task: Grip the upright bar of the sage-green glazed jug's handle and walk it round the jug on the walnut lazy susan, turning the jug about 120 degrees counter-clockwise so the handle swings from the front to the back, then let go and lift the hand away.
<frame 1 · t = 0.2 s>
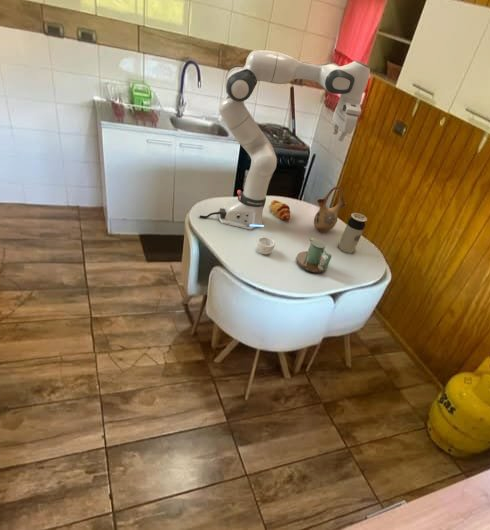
hand: (337, 137, 168), 48 cm above the table, tool pointing down, fingers open, 8 cm apart
susan base: (310, 264, 168), on the table
teacup: (263, 250, 171), on the table
travel mug: (345, 248, 186), on the table
croissant: (279, 214, 204), on the table
ceramic vessel: (321, 230, 197), on the table
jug: (316, 254, 164), point 6 cm above the table, hinge at 0.0°
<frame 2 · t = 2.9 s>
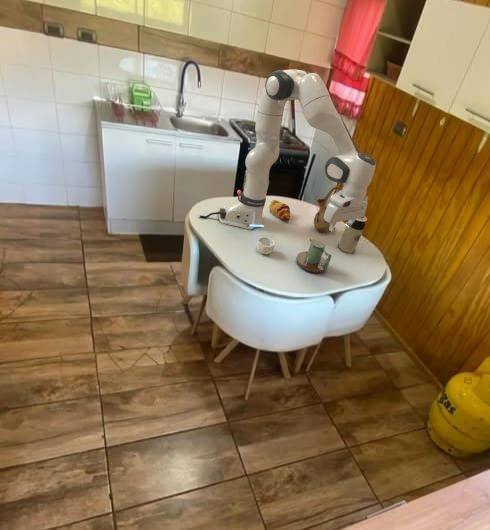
hand: (339, 228, 151), 23 cm above the table, tool pointing down, fingers open, 8 cm apart
nothing on the table moved.
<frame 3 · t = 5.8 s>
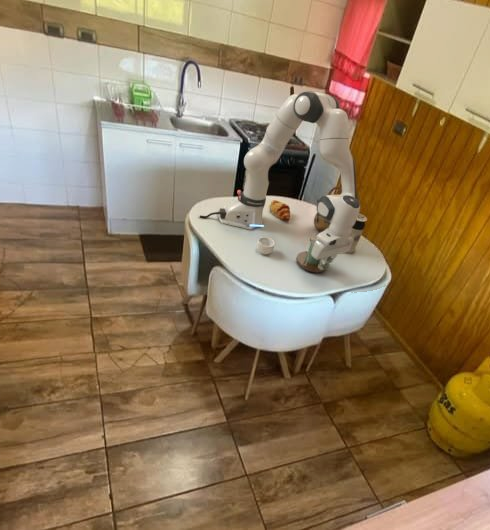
hand: (326, 262, 160), 7 cm above the table, tool pointing down, fingers closed on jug, 2 cm apart
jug: (316, 254, 164), point 6 cm above the table, hinge at 0.1°, touching gripper
everything else where it was.
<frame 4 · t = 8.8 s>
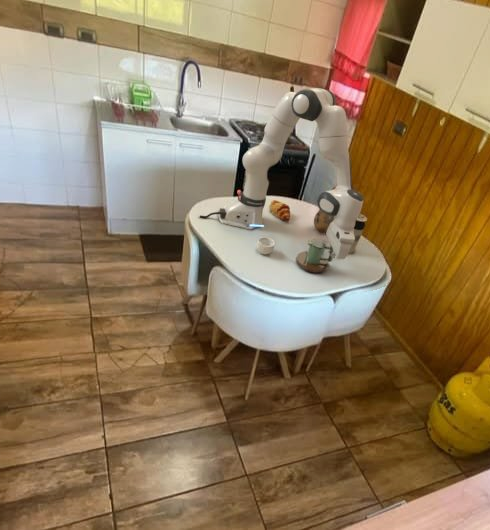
hand: (331, 255, 166), 7 cm above the table, tool pointing down, fingers closed on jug, 2 cm apart
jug: (316, 253, 165), point 6 cm above the table, hinge at 58.6°, touching gripper
everything else where it was.
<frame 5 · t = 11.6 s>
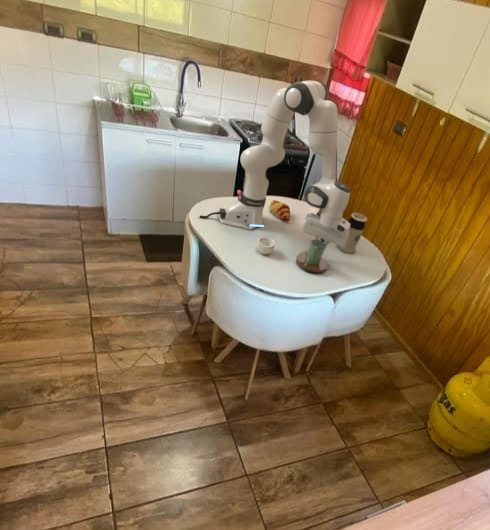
hand: (320, 246, 170), 6 cm above the table, tool pointing down, fingers closed on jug, 2 cm apart
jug: (315, 252, 165), point 6 cm above the table, hinge at 117.8°, touching gripper
everything else where it was.
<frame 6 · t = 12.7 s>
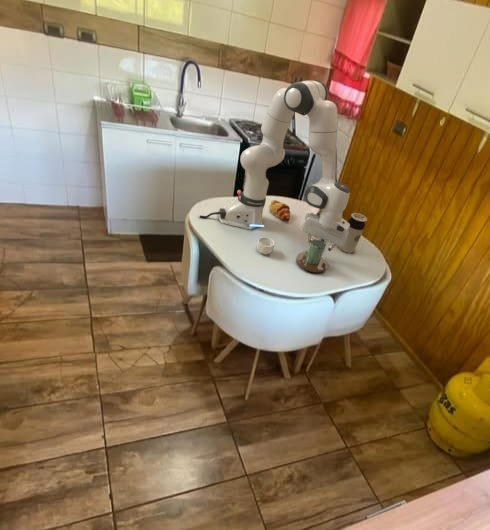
hand: (319, 246, 171), 6 cm above the table, tool pointing down, fingers open, 8 cm apart
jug: (315, 252, 165), point 6 cm above the table, hinge at 118.1°
everything else where it was.
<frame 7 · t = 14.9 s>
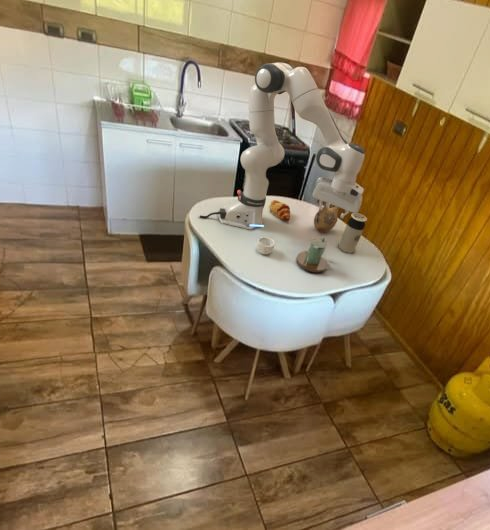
hand: (331, 213, 162), 22 cm above the table, tool pointing down, fingers open, 8 cm apart
nothing on the table moved.
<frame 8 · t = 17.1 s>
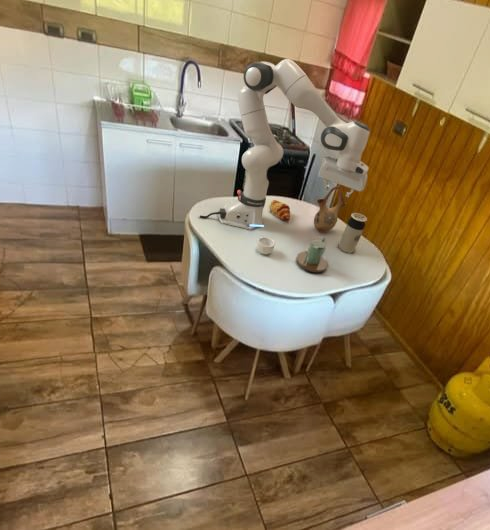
hand: (336, 193, 164), 29 cm above the table, tool pointing down, fingers open, 8 cm apart
nothing on the table moved.
at the end: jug at +118° (first picture: +0°); the gripper is holding nothing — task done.
